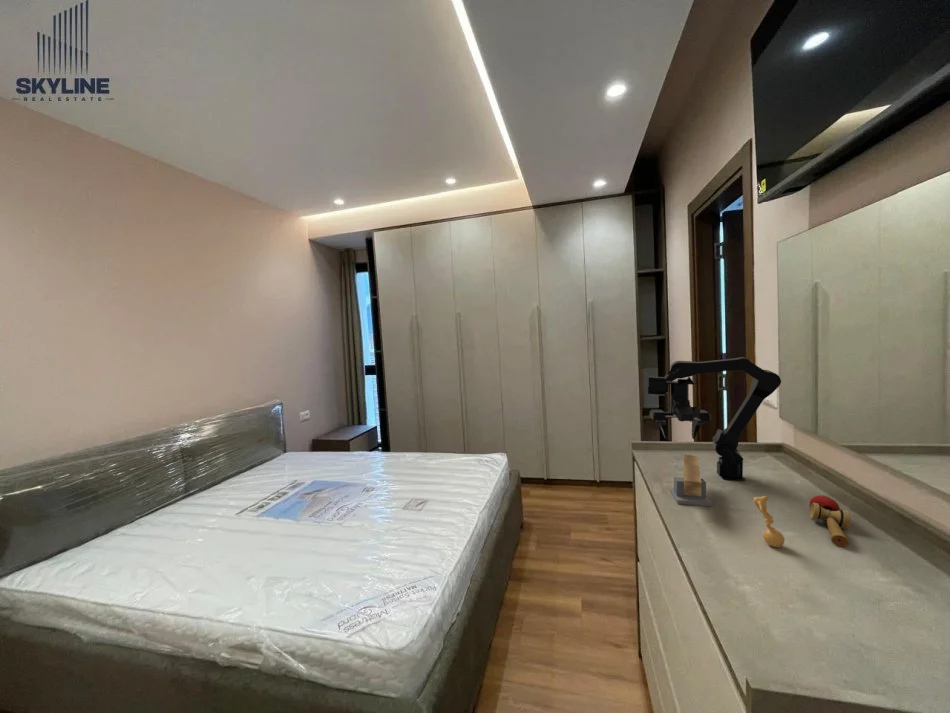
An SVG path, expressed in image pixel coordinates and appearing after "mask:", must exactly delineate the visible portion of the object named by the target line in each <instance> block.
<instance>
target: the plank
mask: <svg viewBox="0 0 950 713" xmlns="http://www.w3.org/2000/svg"><path fill="white" fill-rule="evenodd" d="M682 458H683V462H682V463H683V465H682V466H683V478H684V490H685V494H688V495H694V496H701V479H702V477H701V471H700V465H699V464H700V463H699V457H698V456H697V455H690V454H683V457H682Z"/></svg>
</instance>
